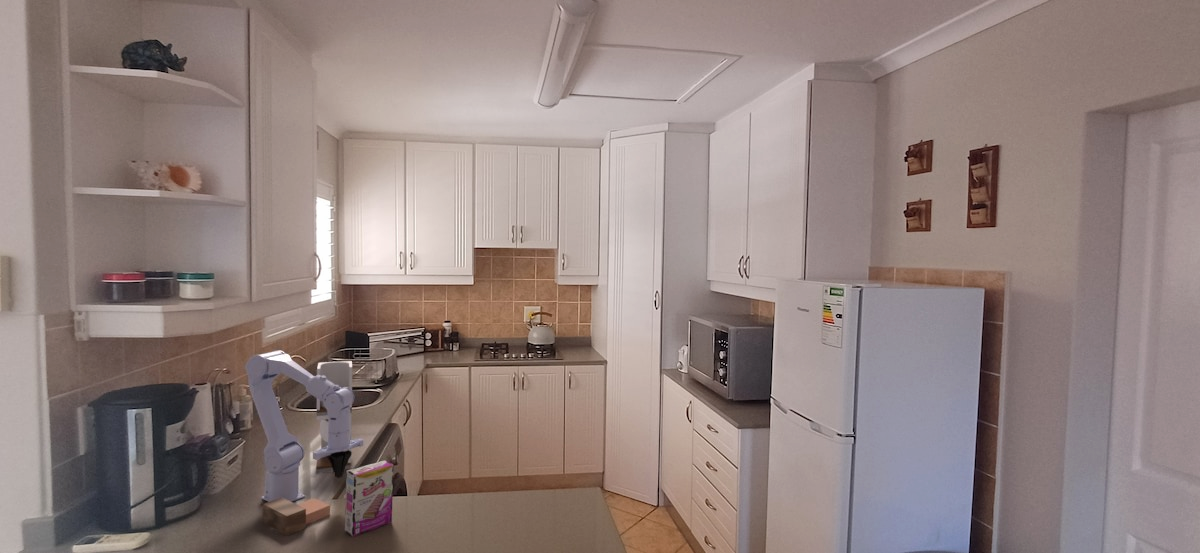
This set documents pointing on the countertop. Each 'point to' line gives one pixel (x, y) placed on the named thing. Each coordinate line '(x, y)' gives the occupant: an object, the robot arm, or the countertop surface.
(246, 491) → the countertop surface
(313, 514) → the terracotta brick
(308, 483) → the countertop surface
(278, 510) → the tan wooden box
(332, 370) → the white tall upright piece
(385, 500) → the candy bar box
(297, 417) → the countertop surface
